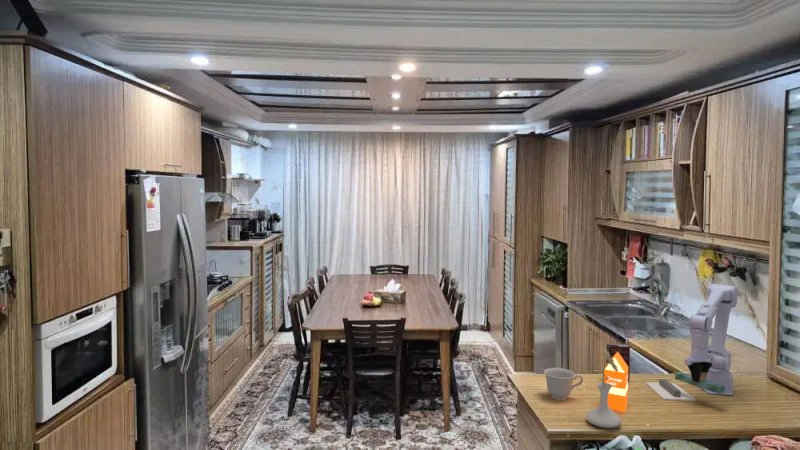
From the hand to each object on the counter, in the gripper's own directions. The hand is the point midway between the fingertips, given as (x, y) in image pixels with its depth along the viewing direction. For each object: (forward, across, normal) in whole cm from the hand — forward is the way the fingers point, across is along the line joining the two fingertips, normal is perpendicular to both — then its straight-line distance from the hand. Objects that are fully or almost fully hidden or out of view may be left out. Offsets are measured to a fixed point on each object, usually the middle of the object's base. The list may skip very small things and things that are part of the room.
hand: (698, 380), depth 195 cm
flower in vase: (+8, -48, +1) cm, 49 cm away
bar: (+2, 0, 0) cm, 2 cm away
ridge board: (+8, -1, +12) cm, 14 cm away
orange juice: (+9, -33, +10) cm, 35 cm away
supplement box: (+9, -10, +30) cm, 32 cm away
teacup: (+8, -45, +25) cm, 52 cm away
